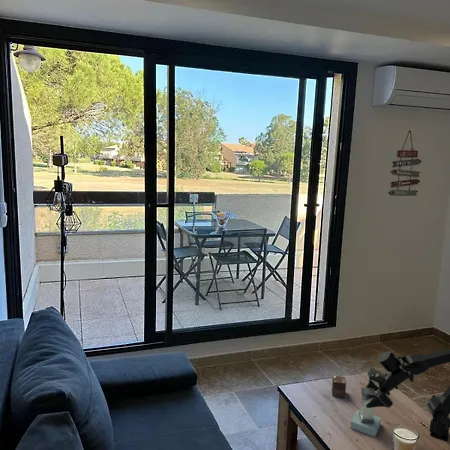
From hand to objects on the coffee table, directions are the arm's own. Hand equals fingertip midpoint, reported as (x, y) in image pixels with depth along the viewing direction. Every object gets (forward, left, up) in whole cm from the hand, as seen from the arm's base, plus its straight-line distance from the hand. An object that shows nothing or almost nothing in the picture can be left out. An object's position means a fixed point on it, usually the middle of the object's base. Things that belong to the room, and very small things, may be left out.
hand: (364, 400), depth 171 cm
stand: (-1, -1, -12) cm, 12 cm away
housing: (-1, -1, -9) cm, 9 cm away
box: (+16, -19, -12) cm, 27 cm away
